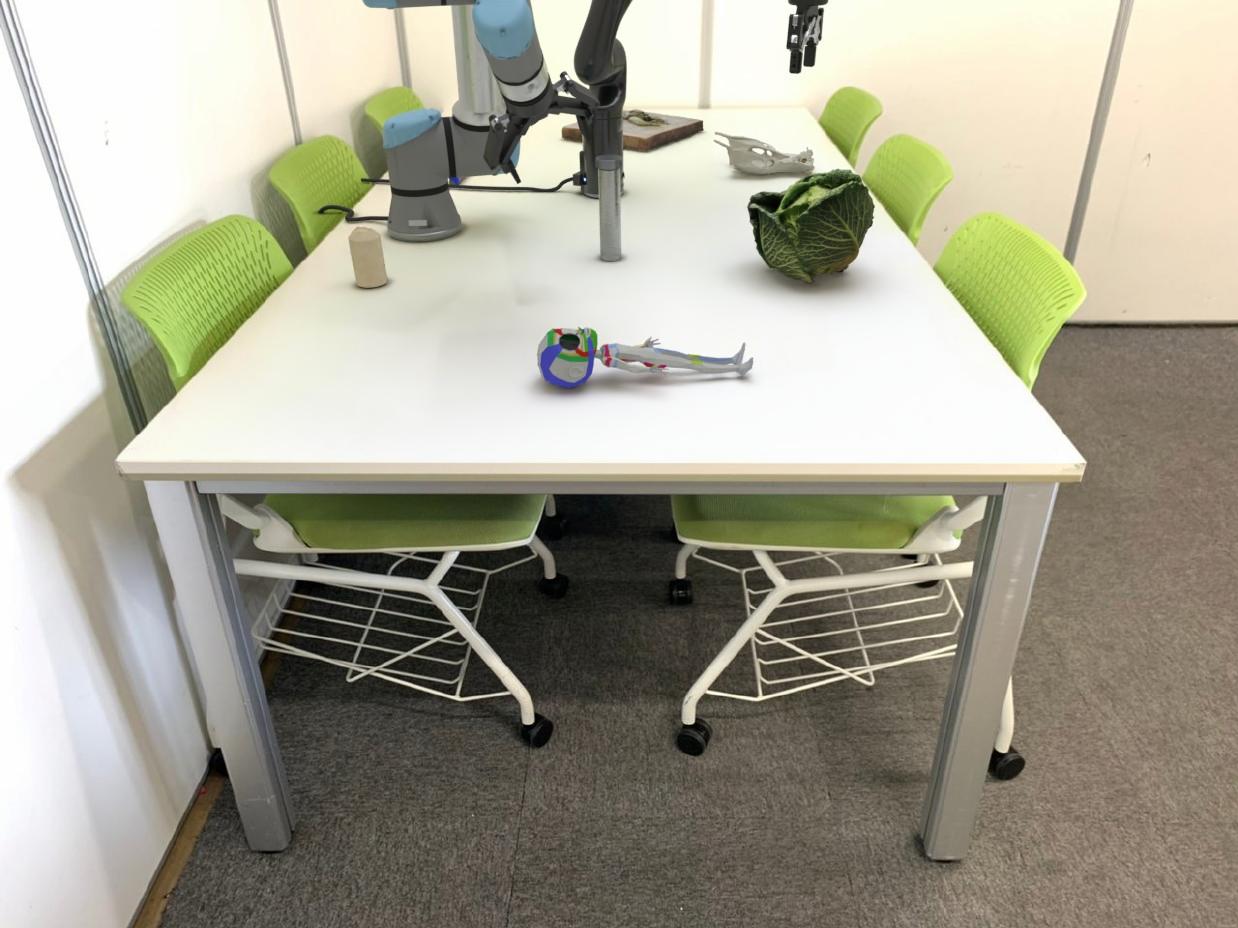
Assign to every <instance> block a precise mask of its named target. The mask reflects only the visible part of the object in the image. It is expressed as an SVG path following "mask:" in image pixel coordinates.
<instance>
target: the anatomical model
mask: <svg viewBox="0 0 1238 928" xmlns="http://www.w3.org/2000/svg"><path fill="white" fill-rule="evenodd" d="M714 135H717V136H721V137H723V138H726V139H727V140H728V144H729V145H728V144H725V143H724V142H721V140H717V139H713V142H714V143H716V144H718V145H719V146H721V147H724V148H726V150H727V156H728V159H729V164H728V165H729V166H733V169H734V170H736V171H739V172H740V171H742V172H745V173H746V174H749V175H756V176H757V175H758V176H759V175H770V174H775V173H781V172H782V173H783V172H787V173H790V172H792V173H793V172H794V173H803V174H804V173H807V172H808V173H809V172H813V171H814V170H815V165H814V163H815V158H813V155H814V151H813V149H809V147H808V146H806V151H805V150H803V151H801V152H800V153H789V152H781V151H779V150H777V149H776V148H775V147H774V146H772V144H769V143H766V142H764V141H761V140H759V139H756V138H752V137H747V136H742V135H741V136H740V135H731V134H727V133H724V132H719V131H715V132H714ZM753 149H760V150H762V151H763V153H758V152H756V151H754V150H753ZM768 152H770V153H771V154H768Z"/></svg>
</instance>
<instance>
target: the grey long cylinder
mask: <svg viewBox="0 0 1238 928" xmlns="http://www.w3.org/2000/svg"><path fill="white" fill-rule="evenodd" d="M598 183H599V198H598V214H599V215H598V216H599V219H598V220H599V250H600V253H599V255H600V259H601V260H602V261H603V262H617V261H619V260H621V259H622V213H621V211H622V209H621V207H622V206H621V200H622V199H621V195H620V168H619V169H614V170H603V169H598Z"/></svg>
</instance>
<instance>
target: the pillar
mask: <svg viewBox="0 0 1238 928" xmlns="http://www.w3.org/2000/svg"><path fill="white" fill-rule="evenodd" d="M465 178H466V177H459V178H448V184H454V185H460V183H462V181H463V180H464V179H465Z"/></svg>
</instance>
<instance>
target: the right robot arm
mask: <svg viewBox="0 0 1238 928" xmlns="http://www.w3.org/2000/svg"><path fill="white" fill-rule="evenodd" d="M633 1H634V0H591V2H590V6H589V10H588V12H587V16H586V19H585V21H584V25H583V28H582V31H581V33H580V35H579V38H578V42H577V44H576V47H575V50H574V54H573V69H574V72H575V75H576V77H577V79H578V80H579V82H581V83H582V84H583V85H586V86H589V87H588V89H589V90H591V91H592V92H593V93H594V95H595V96H596V98H597V99H598V101H599V102H600V106H599V107H597V108H592V109H591V112H592V114H593V118H592V123H591V124H589V125H588V128H589V132H590V136H591V141H589V142H587V141H586V139H585V137H584V136H583V134H582V140H583V142H582V150H580V151H579V153H578V156H579V171H577V172H575V173H572V176H571V177H568V178H564V179H563V180H562V181H560V182H559V183H558V185H557V186H554V187H551V188H541V187H540V188H539V187H533V186H496V185H495V186H493V185H491V186H489V185H469V184H449V183H448V185H449V189H459V190H460V189H463V190H479V191H480V190H481V191H518V192H519V191H520V192H521V191H523V192H524V191H525V192H526V191H529V192H536V193H553V192H557V191H559V190H560V189H561V188H562V187H563V186H564V185H565V184H568V183H570V182H572V186H575V187H580V195H585V196H587V197H589V198H595V199H599V183H598V168H597V167H596V157H597V156H599V155H605V154H614V155H619V156H621V157H622V167H621V168H620V196H622V195H624V193H625V188H624V186H625V183H624V181H625V180H624V179H625V178H626V177H625V171H624V148H623V110H624V107H625V103H626V99H627V82H628V81H627V79H628V78H627V76H628V61H627V54H626V50H625V47H624V45H623V43H622V42H621V41H620V39H618V38H617V35H618V31H619V27H620V25H621V22H622V20H623V18H624V16H625V14H626V13H627V11H628V10H629V7H630V6H631V4H632V3H633ZM787 3H788V4H789V5H790V6H796V9H795V13H790V14H789V16H788V26H787V35H786V45H785V47H786V50H788V51H789V53H790V57H789V69H788V71H789V73H790V74H793V75H799V74H801V73H802V68H803V67H805V68H813V67H815V65H816V57H817V48H818V46H819V43H820V42H821V41H822V39H823V25H824V13H825V8H824V7H821V6H825V5H827V4H829V0H787ZM802 65H803V66H802ZM360 182H362V183H383V184H390V181H389V178H388V179H387V178H364V177H361V178H360Z"/></svg>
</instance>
